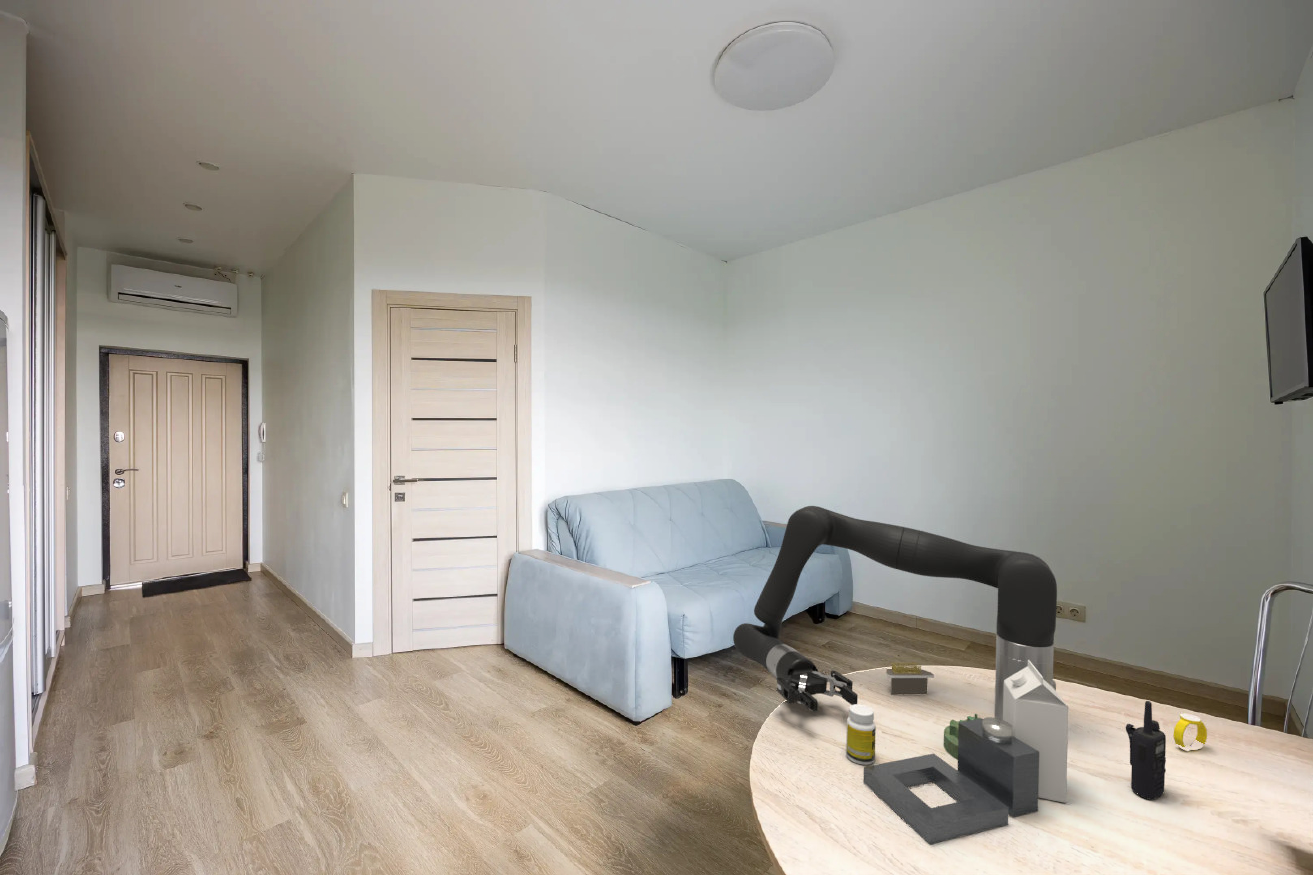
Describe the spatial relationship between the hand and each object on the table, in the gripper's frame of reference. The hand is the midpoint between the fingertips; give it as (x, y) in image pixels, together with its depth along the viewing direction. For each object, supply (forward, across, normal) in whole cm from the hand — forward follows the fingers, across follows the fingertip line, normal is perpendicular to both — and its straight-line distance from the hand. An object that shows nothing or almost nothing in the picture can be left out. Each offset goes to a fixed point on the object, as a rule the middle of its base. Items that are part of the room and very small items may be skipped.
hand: (836, 703), depth 103 cm
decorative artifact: (+11, +21, +6) cm, 25 cm away
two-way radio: (+27, +38, +6) cm, 47 cm away
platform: (-11, +26, +7) cm, 29 cm away
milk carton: (+21, +22, +6) cm, 31 cm away
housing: (+20, +7, +6) cm, 22 cm away
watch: (+21, +60, +6) cm, 64 cm away
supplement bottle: (+7, 0, +6) cm, 10 cm away
